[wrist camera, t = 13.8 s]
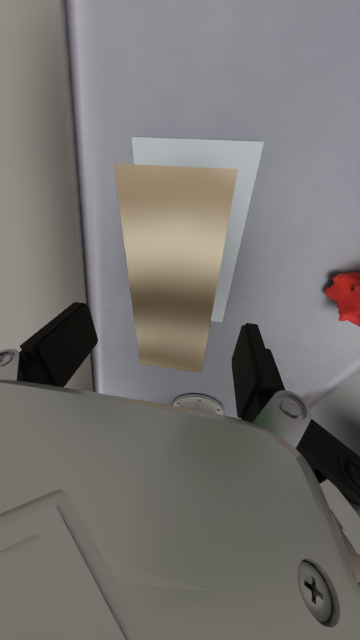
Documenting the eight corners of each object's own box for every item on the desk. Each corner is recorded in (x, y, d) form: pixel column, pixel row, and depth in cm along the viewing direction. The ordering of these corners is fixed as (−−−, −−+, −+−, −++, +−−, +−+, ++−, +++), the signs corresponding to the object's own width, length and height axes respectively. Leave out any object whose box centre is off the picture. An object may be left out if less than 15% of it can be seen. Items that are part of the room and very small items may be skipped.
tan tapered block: (139, 168, 12) (113, 163, 9) (231, 173, 12) (237, 169, 8) (151, 336, 21) (140, 363, 18) (203, 343, 21) (201, 372, 17)
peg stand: (222, 317, 29) (225, 361, 22) (148, 309, 30) (127, 348, 23) (261, 144, 17) (296, 115, 10) (136, 139, 18) (85, 110, 11)
